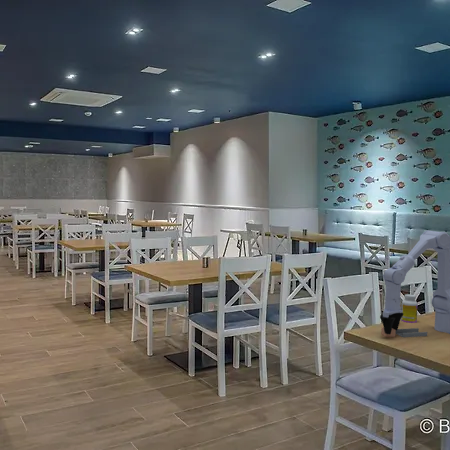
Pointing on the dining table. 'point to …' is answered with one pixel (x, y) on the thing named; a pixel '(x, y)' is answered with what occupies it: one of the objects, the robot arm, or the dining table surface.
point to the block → (388, 334)
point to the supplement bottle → (409, 309)
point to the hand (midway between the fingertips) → (391, 331)
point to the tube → (410, 332)
